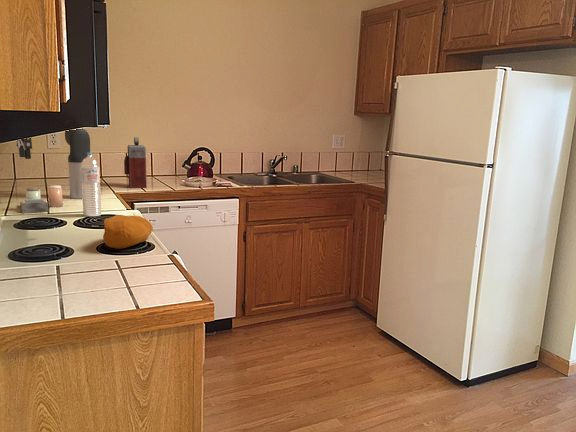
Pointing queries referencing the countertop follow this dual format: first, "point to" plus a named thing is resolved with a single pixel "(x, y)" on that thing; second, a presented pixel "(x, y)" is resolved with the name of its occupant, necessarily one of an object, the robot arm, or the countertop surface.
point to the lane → (34, 207)
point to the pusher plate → (34, 200)
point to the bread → (125, 231)
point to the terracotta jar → (55, 196)
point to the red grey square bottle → (136, 165)
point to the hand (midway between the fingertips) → (25, 158)
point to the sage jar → (33, 193)
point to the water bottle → (91, 186)
